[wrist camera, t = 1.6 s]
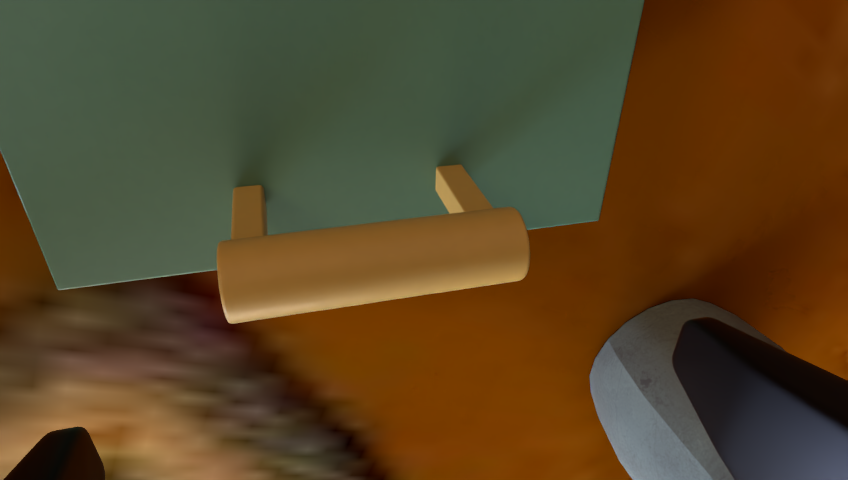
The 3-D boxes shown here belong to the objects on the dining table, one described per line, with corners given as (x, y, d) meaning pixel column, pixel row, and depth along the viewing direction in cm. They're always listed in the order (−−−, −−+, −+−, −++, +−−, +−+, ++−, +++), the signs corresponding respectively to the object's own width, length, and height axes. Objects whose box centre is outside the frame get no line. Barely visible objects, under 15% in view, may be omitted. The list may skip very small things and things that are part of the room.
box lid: (588, 210, 18) (688, 309, 14) (64, 275, 14) (-6, 429, 10) (697, -354, 11) (955, -482, 7) (-232, -466, 8) (-738, -826, 4)
